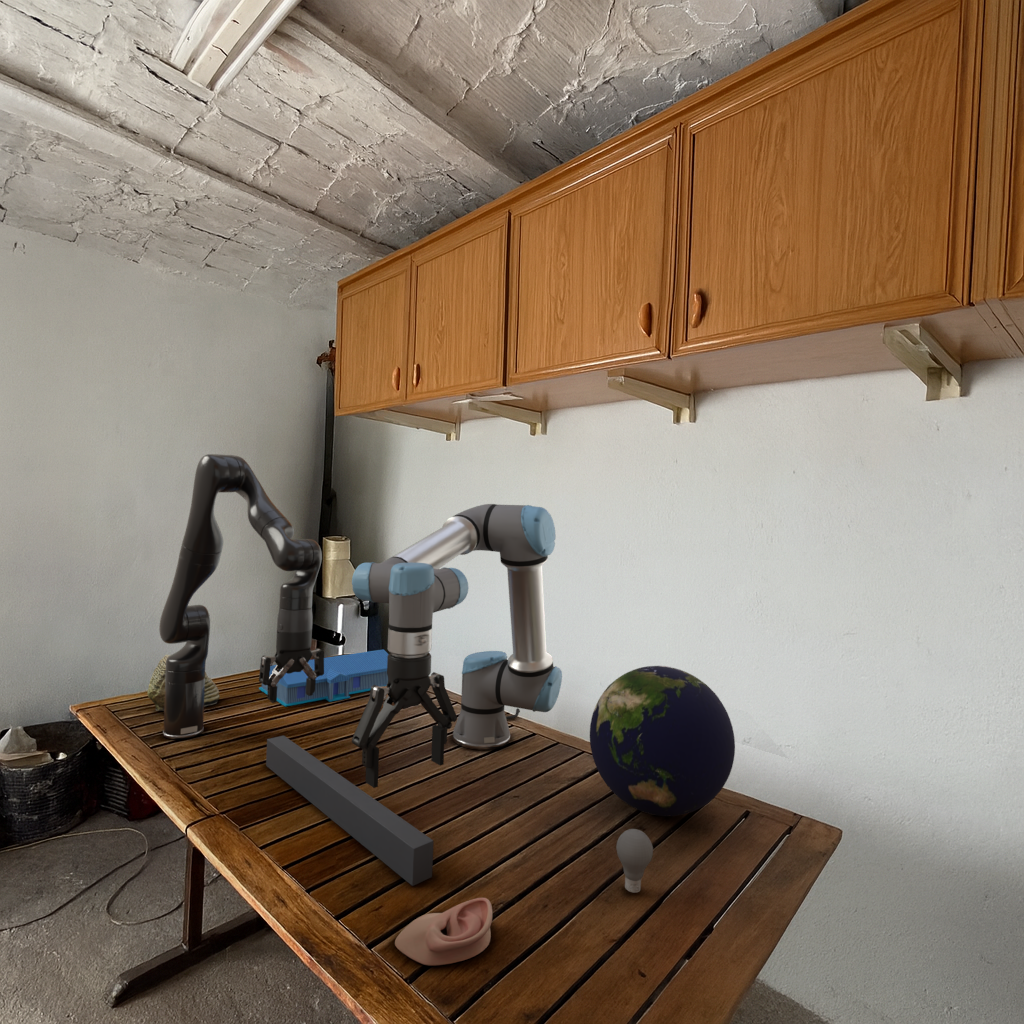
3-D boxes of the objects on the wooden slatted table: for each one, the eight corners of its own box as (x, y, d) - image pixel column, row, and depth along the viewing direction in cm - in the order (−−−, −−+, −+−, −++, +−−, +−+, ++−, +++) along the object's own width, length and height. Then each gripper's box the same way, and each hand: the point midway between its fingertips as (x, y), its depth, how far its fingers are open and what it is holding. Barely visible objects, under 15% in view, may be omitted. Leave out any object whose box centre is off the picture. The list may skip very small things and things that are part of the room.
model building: (289, 709, 186) (291, 675, 185) (258, 688, 204) (259, 657, 204) (403, 687, 212) (405, 657, 212) (366, 670, 230) (368, 643, 230)
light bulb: (610, 879, 108) (613, 822, 108) (644, 879, 109) (647, 822, 109) (619, 902, 102) (622, 840, 102) (655, 901, 103) (658, 840, 103)
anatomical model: (387, 929, 88) (416, 881, 99) (385, 957, 88) (415, 906, 99) (479, 947, 85) (498, 895, 96) (478, 976, 85) (497, 921, 96)
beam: (265, 765, 148) (266, 739, 148) (282, 761, 150) (283, 735, 150) (412, 886, 104) (413, 848, 104) (432, 877, 107) (433, 840, 107)
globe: (569, 823, 127) (576, 674, 126) (605, 767, 154) (610, 645, 154) (726, 862, 115) (734, 698, 115) (734, 794, 143) (741, 662, 143)
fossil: (144, 707, 182) (145, 655, 182) (212, 696, 194) (213, 647, 194) (151, 716, 175) (153, 662, 175) (221, 703, 188) (223, 653, 188)
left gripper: (316, 621, 151) (313, 688, 151) (256, 627, 141) (253, 699, 141) (331, 627, 145) (328, 697, 146) (270, 634, 135) (266, 709, 136)
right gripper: (356, 669, 98) (352, 803, 99) (478, 646, 116) (474, 761, 116) (333, 659, 104) (329, 786, 105) (453, 638, 121) (449, 748, 122)
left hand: (291, 698), depth 143 cm, fingers open, 8 cm apart
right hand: (405, 773), depth 110 cm, fingers open, 13 cm apart
